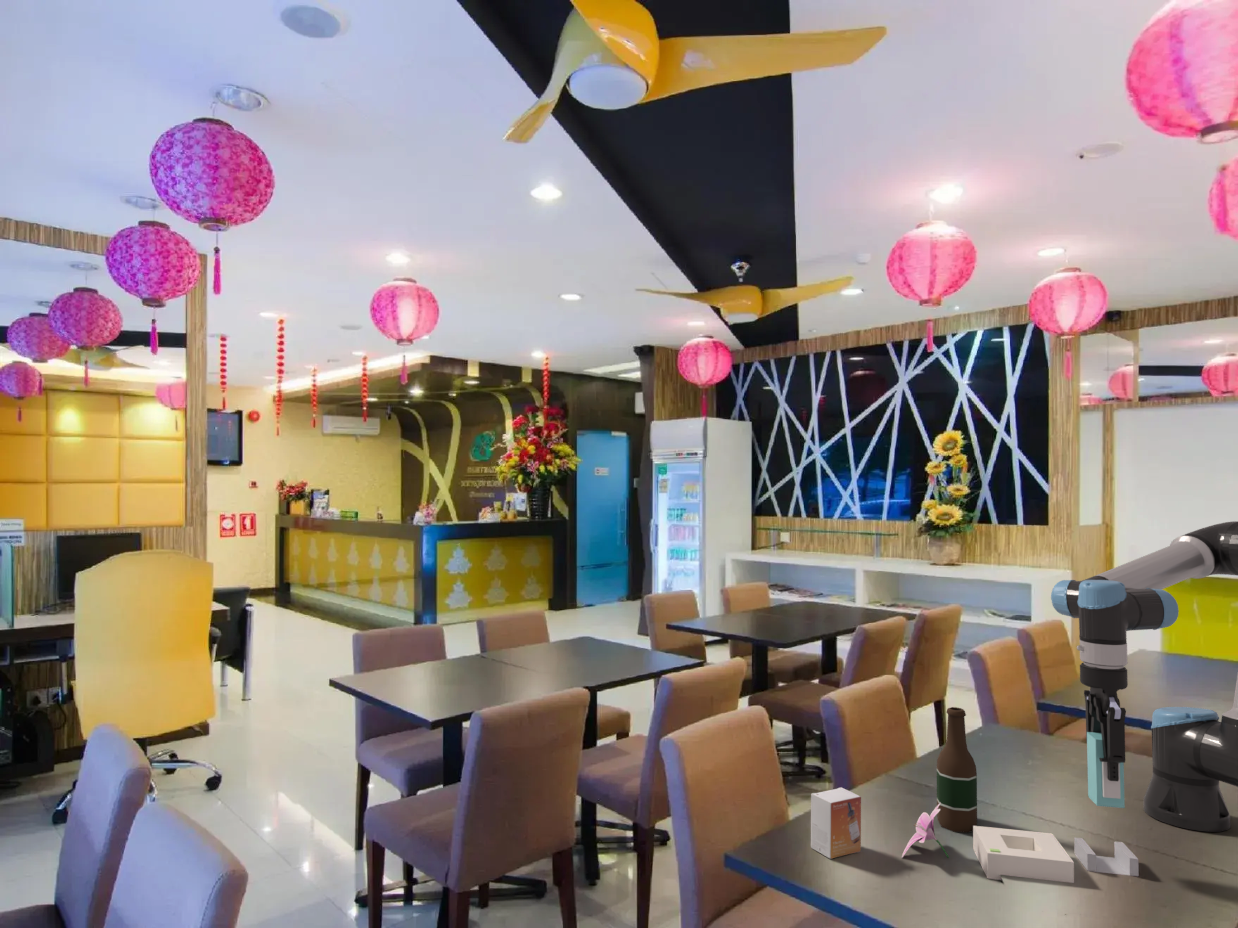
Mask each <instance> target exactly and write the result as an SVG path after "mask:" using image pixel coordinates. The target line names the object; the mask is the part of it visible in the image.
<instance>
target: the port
mask: <svg viewBox="0 0 1238 928" xmlns="http://www.w3.org/2000/svg"><path fill="white" fill-rule="evenodd" d="M972 837H973V838H972V845H973V846H972V848H973V852H974V853H975V855H976V858H977V860H978V862H979V864H980V866H981V869H982V870H983V873H984V874H985V876H986V879H989V880H996V881H997V880H998V881H1003V879H1002V876H1010V877H1019V878H1026V879H1035V880H1046V881H1054V882H1062V883H1070V884H1074V883H1075V862H1074V860H1073V859H1072V858H1071V856H1070V855H1069V854H1068V853H1067V851H1066V850H1065V848H1064V847H1063V846H1062V844H1061V843H1060V841H1058V839H1057V838H1056V836H1055V835H1054V834H1053V833H1050V832H1042V831H1041V832H1039V831H1031V830H1022V829H1010V828H1001V827H990V826H982V825H981V826H980V825H976V826H973V831H972Z"/></svg>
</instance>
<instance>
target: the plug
mask: <svg viewBox="0 0 1238 928" xmlns="http://www.w3.org/2000/svg"><path fill="white" fill-rule="evenodd" d="M1086 753H1087V754H1086V755H1087V758H1086V759H1087V761H1086V762H1087V795H1088V796H1087V797H1088V798H1089V799H1090V801H1091V802H1093V803H1094V804H1095V805H1096V806H1097V807H1105V808H1106V807H1107V808H1119V809H1125V808H1126V807H1125V805H1126V804H1125V766H1124V763H1122V762H1121V763H1120V795H1121V799H1118V798H1105V797H1103V796H1102V762H1101V761H1100V759H1099V758H1104V754H1103V744H1102V734H1101V733H1095V732H1087V741H1086Z"/></svg>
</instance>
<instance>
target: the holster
mask: <svg viewBox="0 0 1238 928" xmlns="http://www.w3.org/2000/svg"><path fill="white" fill-rule="evenodd" d="M1073 838H1074V840H1073V841H1074V844H1073V845H1074V847H1073V849H1074V850H1073V851H1074V853H1073V854H1074V855H1075V857H1076V858H1077V859H1078V860H1079V862H1080V863H1081V865H1082V866H1083V867H1084V868H1085V870H1086V871H1087V872H1094V873H1104V874H1114V875H1122V876H1131V877H1139V876H1140V875H1139V871H1140V870H1139V858H1138V857H1137V856H1136V855H1135V854H1134V853H1133V851H1132V850H1130V848H1129V847H1128V846H1127V845H1126V844H1125V843H1124V842H1122V841H1114V842H1113V846H1114V853H1113V854H1114V856H1112V857H1111V856H1102V855H1097V854H1096V853H1095V852H1094V850H1093V849H1092V848H1091V847H1090V845H1089V844H1088V843H1087V842H1086V840H1084V838H1082V837H1075V836H1074V837H1073Z"/></svg>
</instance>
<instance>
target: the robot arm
mask: <svg viewBox="0 0 1238 928" xmlns="http://www.w3.org/2000/svg"><path fill="white" fill-rule="evenodd" d="M1213 575H1228V576H1238V521H1235V520H1234V521H1227V522H1221V523H1217V524H1212V525H1209V526H1206V527H1201V528H1199V529H1197V530H1194V531H1190V532H1187V533H1185V534H1183V535H1180V536H1177V537H1175V538H1174V539H1173V540H1172V541H1171V543H1170V544H1169V546H1165V547H1163V548H1160V549H1158V550H1155V551H1154V552H1151V553H1148V554H1146V555H1143V556H1141V557H1139V558H1135V559H1134V560H1131V561H1130V560H1129V561H1128V562H1126V563H1124V564H1121V565H1118V566H1116V567H1114V568H1111V569H1109V570H1106V571H1103V572H1101V573H1098V574H1096V575H1093V576H1091V577H1088V578H1085V579H1083V580H1076V579H1063V580H1060V581H1058V582H1056V584H1055V585H1054V586H1053V588H1052V590H1051V595H1050V600H1051V604H1052V607H1053V608H1054V610H1055V611H1056V612H1057V613H1059V614H1060V615H1064V616H1067V617H1071V618H1073V619H1078V626H1079V628H1078V629H1079V637H1078V638H1079V645H1077V646H1076V650H1077V651H1079V660H1080V661H1081V663H1080V664H1079V680H1080V681H1079V682H1080V683H1081V684H1082V685H1084V686H1086V687H1089V688H1090V689H1089V690H1086V689H1085V690H1084V691H1083V695H1084V696H1083V697H1084V703H1085V705H1084V706H1085V734H1086V735H1085V736H1086V737H1085V740H1086V742H1087V732H1095V733H1101V734H1102V744H1103V754H1104V758H1099V759H1100V761H1101V762H1102V796H1103V797H1105V798H1118V799H1121V795H1120V763H1121V762H1122V763H1126V729H1125V728H1126V727H1125V725H1126V724H1125V722H1126V721H1125V719H1126V715H1127V714H1126V713H1127V710H1126V708H1125V707H1121V702H1120V698H1119V697H1118V696H1119V695H1118V691H1119V690H1126V689H1127V688H1128V684H1129V683H1128V682H1129V679H1128V669H1127V668H1126V666H1127V665H1128V663H1129V661H1128V643H1127V640H1128V638H1127V632H1128V631H1144V630H1146V631H1147V630H1153V631H1155V630H1160V629H1164V628H1169V627H1170V626H1172V625H1174V624H1175V623H1176V621H1177V620H1178V617H1179V604H1178V602H1177V600H1176V599H1175V597H1174V596H1173V594H1171V593H1170V592H1168V591H1166V590H1164V589H1166V588H1169V587H1171V586H1173V585H1176V584H1178V583H1180V582H1184V581H1185V580H1189V579H1190V578H1192V579H1203V578H1207V577H1209V576H1213ZM1151 720H1152V721H1151V726H1150V729H1151V754H1152V755H1151V757H1152V760H1151V761H1152V776H1151V779H1150V781H1149V784H1148V785H1147V789H1146V791H1145V793H1144V796H1143V800H1142V801H1143V811H1144V812H1145V813H1146V814H1147V815H1148V816H1149V817H1152V818H1153V819H1155V820H1158V821H1160V822H1162V823H1165V824H1167V825H1171V826H1175V827H1177V828H1182V829H1186V830H1192V831H1197V832H1206V833H1207V832H1211V833H1213V832H1214V833H1215V832H1216V833H1217V832H1218V833H1219V832H1224V831H1228V830H1229V829H1230V828H1231V814H1230V811H1229V809H1228V806H1227V804H1226V801H1225V798H1224V795H1223V794H1222V790H1221V788H1220V782H1222V783H1225V784H1228V785H1230V786H1235V787H1237V788H1238V673H1237V675H1236V683H1235V691H1234V697H1233V705H1232V707H1231V709H1229V710H1227V711H1225V712H1222V714H1221V719H1220V717H1219V714H1218V712H1216V710H1212V709H1208V708H1207V709H1206V708H1201V707H1193V706H1191V707H1189V706H1188V707H1187V706H1166V707H1159V708H1156V709H1154V711H1153V712H1152V718H1151ZM1219 720H1221V721H1219Z"/></svg>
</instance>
